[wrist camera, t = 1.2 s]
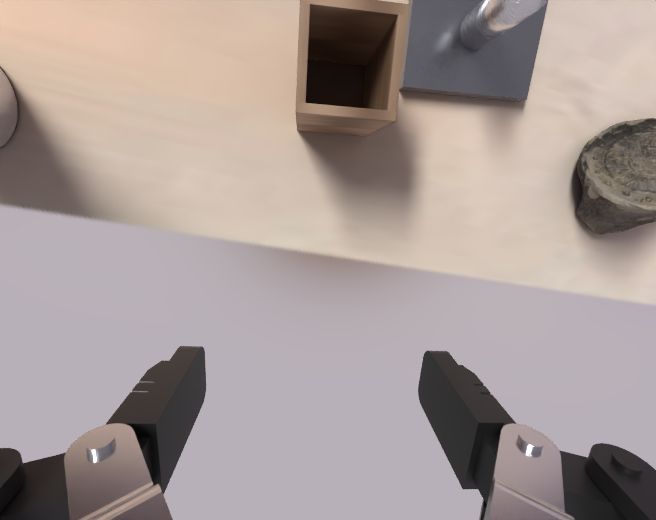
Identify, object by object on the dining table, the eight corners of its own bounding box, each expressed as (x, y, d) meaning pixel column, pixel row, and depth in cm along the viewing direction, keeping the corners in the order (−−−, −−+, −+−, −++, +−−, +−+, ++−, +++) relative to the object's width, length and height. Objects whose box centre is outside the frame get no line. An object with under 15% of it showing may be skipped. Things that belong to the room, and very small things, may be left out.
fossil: (629, 91, 31) (781, 108, 24) (627, 153, 37) (747, 181, 30) (546, 177, 32) (665, 218, 25) (557, 223, 39) (656, 267, 31)
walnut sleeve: (297, 130, 30) (295, 112, 21) (300, 51, 28) (300, -10, 19) (365, 136, 31) (395, 121, 21) (373, 59, 29) (409, 4, 19)
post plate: (398, 89, 30) (433, 61, 22) (413, -40, 27) (459, -125, 19) (518, 101, 31) (592, 78, 23) (544, -21, 28) (637, -95, 21)
